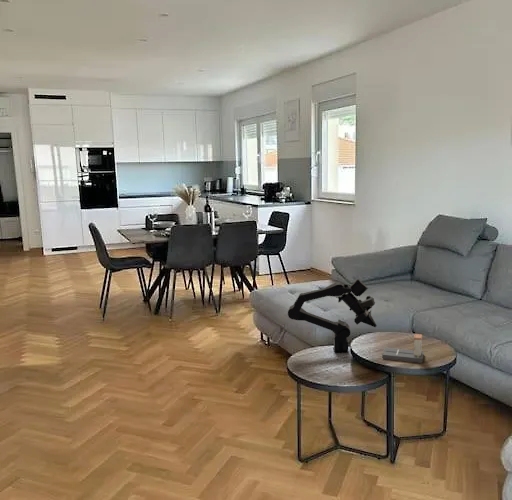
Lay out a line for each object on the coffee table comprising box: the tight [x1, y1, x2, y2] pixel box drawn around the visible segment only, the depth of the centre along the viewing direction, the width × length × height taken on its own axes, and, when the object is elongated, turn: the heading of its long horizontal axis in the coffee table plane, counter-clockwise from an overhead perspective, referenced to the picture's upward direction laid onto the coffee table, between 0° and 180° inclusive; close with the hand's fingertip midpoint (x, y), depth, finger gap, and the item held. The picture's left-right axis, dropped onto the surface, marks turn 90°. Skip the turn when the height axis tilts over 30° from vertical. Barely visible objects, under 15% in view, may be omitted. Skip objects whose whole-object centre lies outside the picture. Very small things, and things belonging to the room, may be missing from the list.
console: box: [381, 347, 425, 364], centre depth 236 cm, size 18×10×2 cm, turn 68°
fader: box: [413, 333, 423, 356], centre depth 232 cm, size 3×5×9 cm, turn 158°
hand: (375, 326), depth 239 cm, fingers closed
